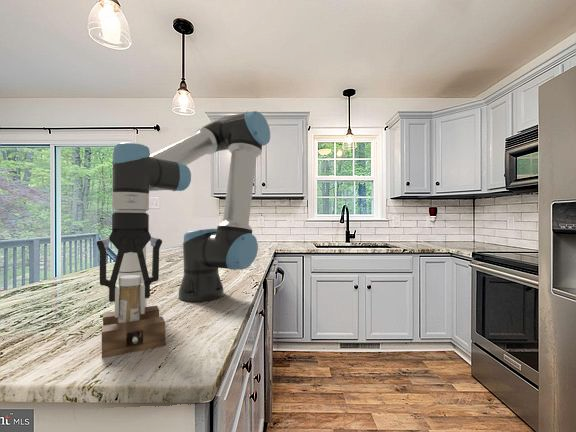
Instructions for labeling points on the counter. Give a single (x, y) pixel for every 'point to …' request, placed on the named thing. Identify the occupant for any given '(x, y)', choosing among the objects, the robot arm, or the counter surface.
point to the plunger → (134, 336)
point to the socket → (116, 332)
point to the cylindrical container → (132, 266)
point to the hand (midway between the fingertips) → (129, 313)
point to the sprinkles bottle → (129, 298)
